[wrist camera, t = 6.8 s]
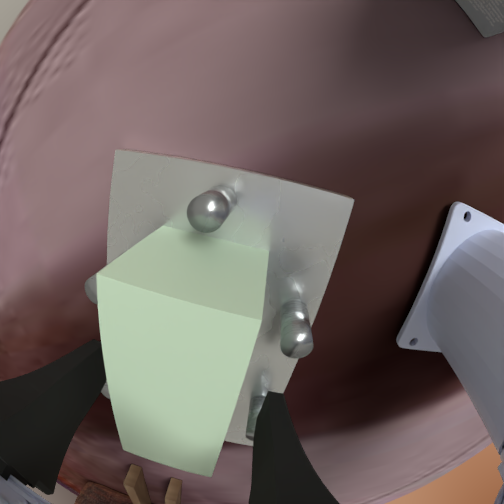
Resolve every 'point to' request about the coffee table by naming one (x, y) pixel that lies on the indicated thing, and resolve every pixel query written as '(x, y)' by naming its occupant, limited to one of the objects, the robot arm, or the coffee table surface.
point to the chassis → (242, 232)
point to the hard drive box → (485, 15)
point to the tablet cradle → (139, 489)
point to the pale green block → (179, 342)
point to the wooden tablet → (101, 495)
